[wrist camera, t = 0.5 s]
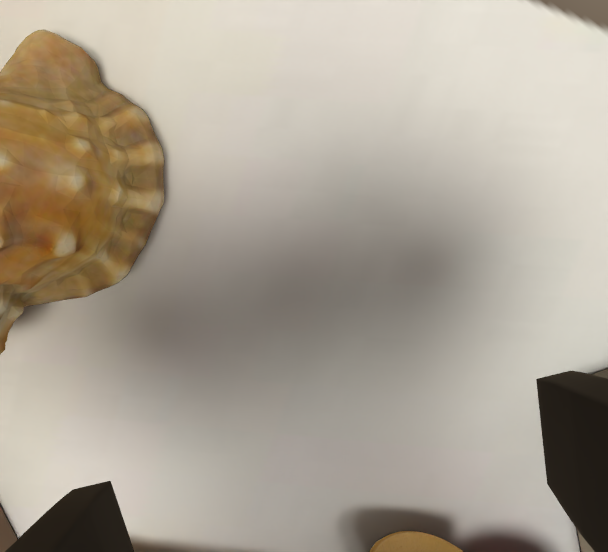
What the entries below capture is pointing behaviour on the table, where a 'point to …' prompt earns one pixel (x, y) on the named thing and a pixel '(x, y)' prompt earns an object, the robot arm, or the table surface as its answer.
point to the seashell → (69, 178)
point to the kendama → (413, 543)
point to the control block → (6, 533)
